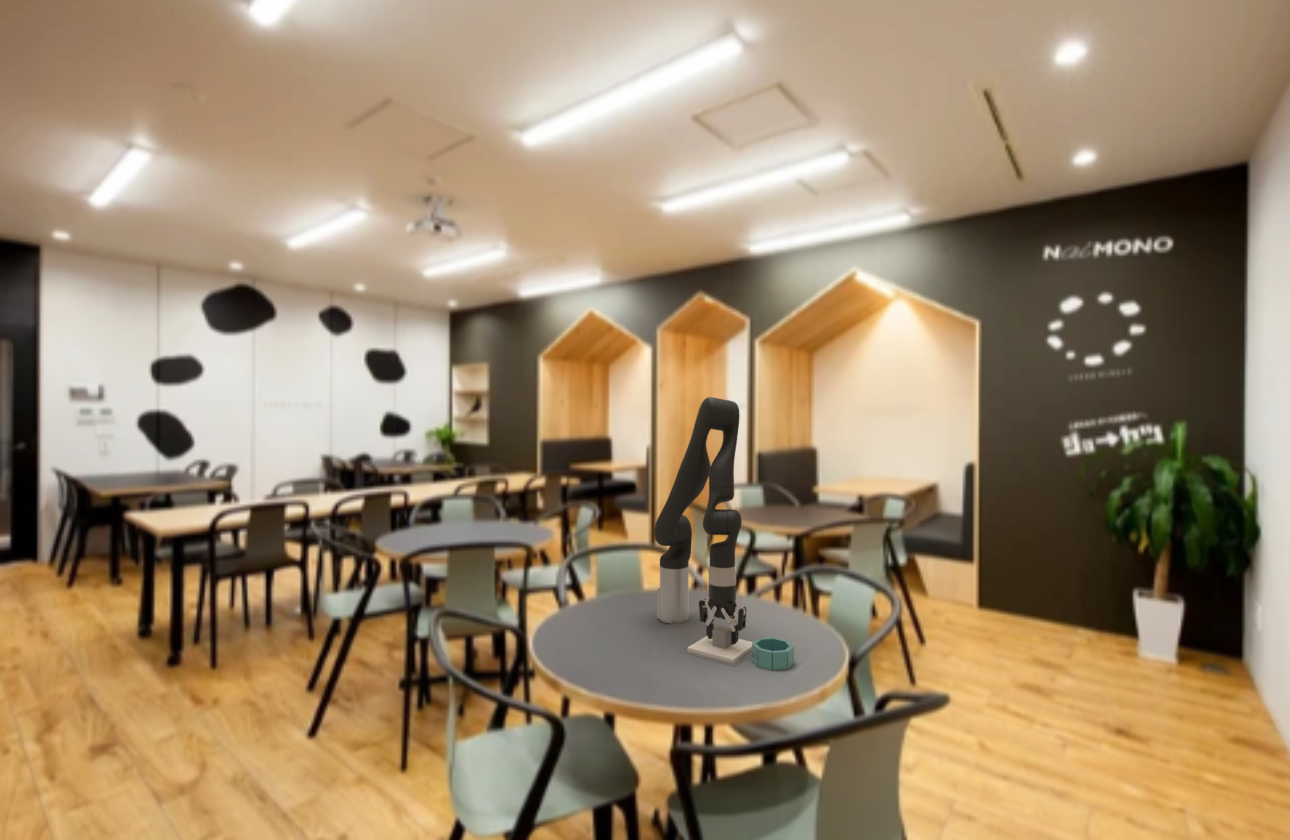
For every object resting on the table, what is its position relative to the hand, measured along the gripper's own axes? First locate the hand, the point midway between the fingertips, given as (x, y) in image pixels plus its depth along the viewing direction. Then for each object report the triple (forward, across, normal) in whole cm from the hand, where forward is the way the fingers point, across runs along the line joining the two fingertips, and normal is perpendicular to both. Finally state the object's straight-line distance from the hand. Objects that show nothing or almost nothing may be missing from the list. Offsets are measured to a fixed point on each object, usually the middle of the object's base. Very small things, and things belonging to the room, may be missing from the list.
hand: (722, 640), depth 169 cm
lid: (+2, 0, 0) cm, 2 cm away
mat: (+3, 0, 0) cm, 3 cm away
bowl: (+3, +15, 0) cm, 15 cm away
